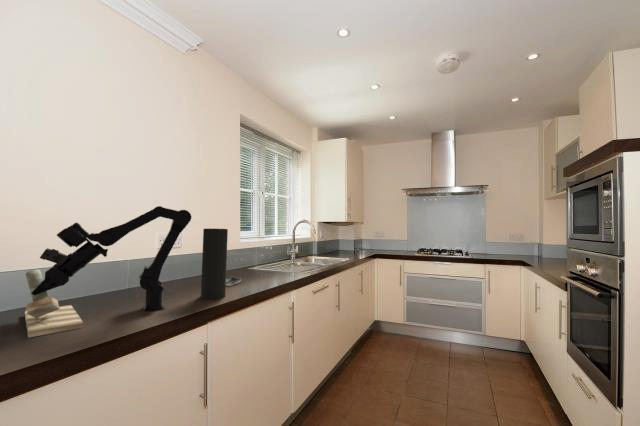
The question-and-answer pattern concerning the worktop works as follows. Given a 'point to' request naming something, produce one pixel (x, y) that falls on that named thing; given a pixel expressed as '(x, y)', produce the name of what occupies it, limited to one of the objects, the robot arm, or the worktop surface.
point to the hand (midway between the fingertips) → (34, 292)
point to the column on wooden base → (39, 297)
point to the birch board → (53, 322)
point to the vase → (214, 263)
